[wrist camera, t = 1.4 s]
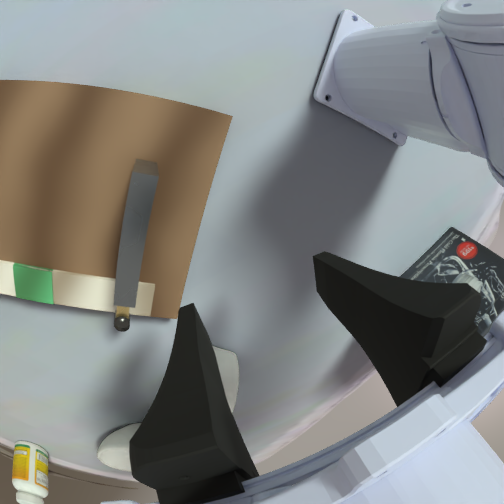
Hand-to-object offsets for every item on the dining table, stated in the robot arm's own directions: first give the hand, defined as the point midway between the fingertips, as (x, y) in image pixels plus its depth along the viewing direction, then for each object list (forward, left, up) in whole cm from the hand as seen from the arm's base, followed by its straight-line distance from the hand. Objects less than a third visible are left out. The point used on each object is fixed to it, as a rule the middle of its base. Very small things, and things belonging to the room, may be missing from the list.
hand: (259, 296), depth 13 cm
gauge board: (+11, 0, -8) cm, 13 cm away
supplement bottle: (+19, +36, -9) cm, 42 cm away
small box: (-25, +1, -9) cm, 27 cm away
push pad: (+5, +2, -7) cm, 9 cm away
